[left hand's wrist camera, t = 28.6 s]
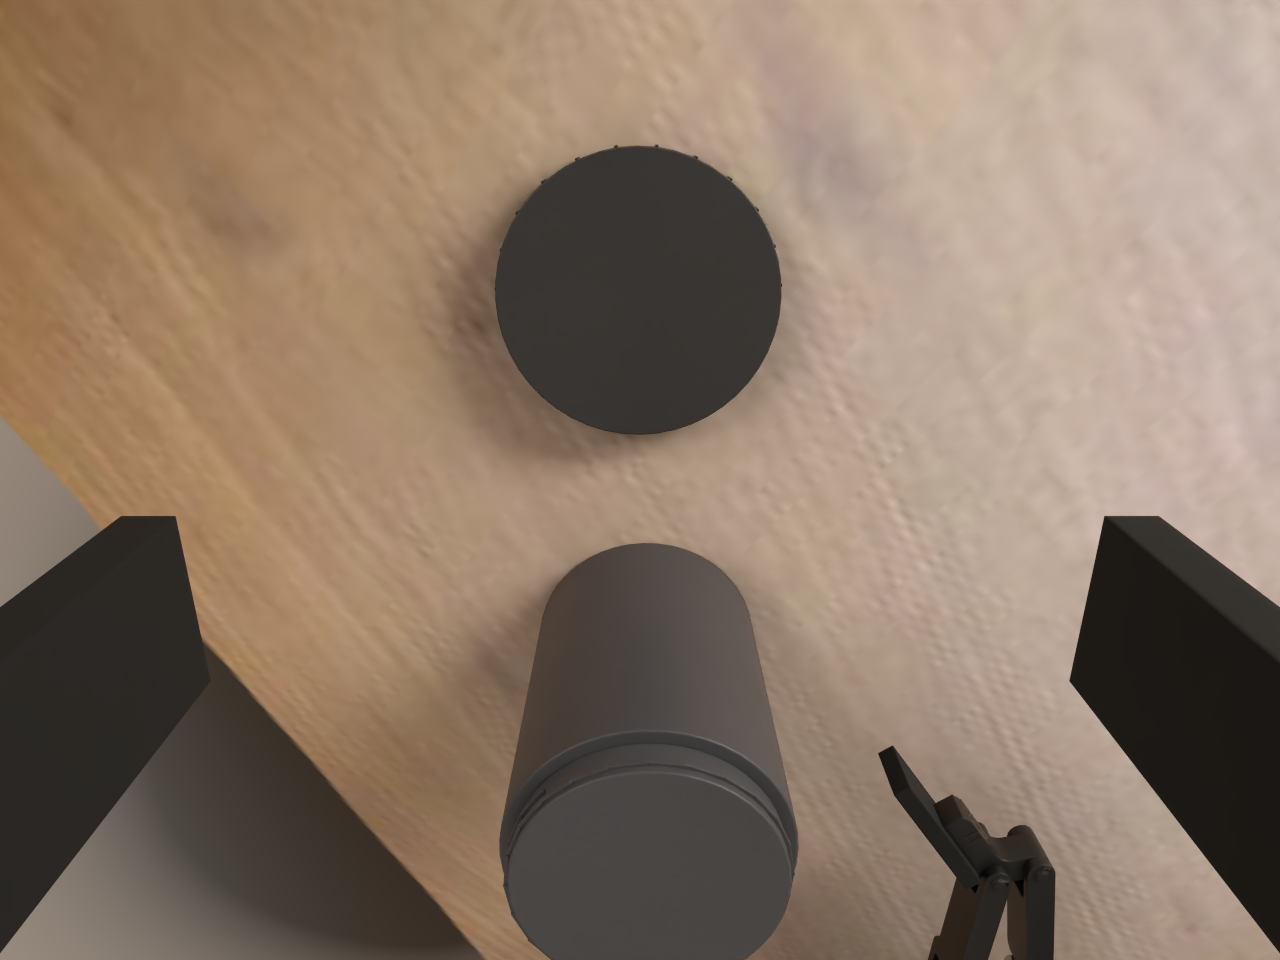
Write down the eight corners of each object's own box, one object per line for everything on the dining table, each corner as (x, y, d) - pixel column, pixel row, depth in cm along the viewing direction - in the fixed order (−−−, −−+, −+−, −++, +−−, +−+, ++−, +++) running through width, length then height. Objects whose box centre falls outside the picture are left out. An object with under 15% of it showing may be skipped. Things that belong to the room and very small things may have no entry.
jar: (662, 501, 41) (675, 702, 26) (793, 650, 43) (867, 904, 29) (497, 624, 43) (427, 870, 29) (631, 758, 46) (628, 1039, 32)
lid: (509, 125, 35) (503, 124, 33) (801, 163, 35) (808, 165, 34) (491, 406, 39) (484, 418, 37) (751, 437, 39) (756, 450, 38)
